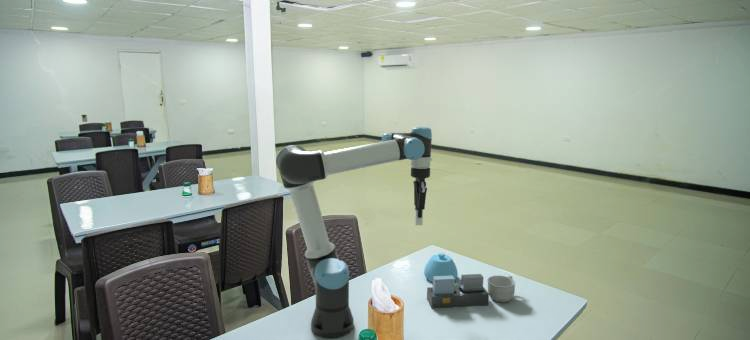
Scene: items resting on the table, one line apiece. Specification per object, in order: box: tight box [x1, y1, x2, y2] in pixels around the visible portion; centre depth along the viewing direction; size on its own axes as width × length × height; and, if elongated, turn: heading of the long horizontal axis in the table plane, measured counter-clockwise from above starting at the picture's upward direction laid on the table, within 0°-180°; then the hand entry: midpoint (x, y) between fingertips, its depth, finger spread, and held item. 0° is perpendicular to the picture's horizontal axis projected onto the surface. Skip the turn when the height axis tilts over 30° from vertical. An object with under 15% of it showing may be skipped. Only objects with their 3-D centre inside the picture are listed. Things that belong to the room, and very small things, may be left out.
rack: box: [426, 273, 490, 309], centre depth 163 cm, size 23×8×11 cm, turn 97°
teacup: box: [487, 275, 516, 303], centre depth 168 cm, size 14×11×8 cm
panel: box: [432, 276, 456, 295], centre depth 162 cm, size 8×3×10 cm, turn 97°
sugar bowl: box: [423, 252, 459, 283], centre depth 185 cm, size 15×15×12 cm
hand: (418, 224), depth 164 cm, fingers closed
